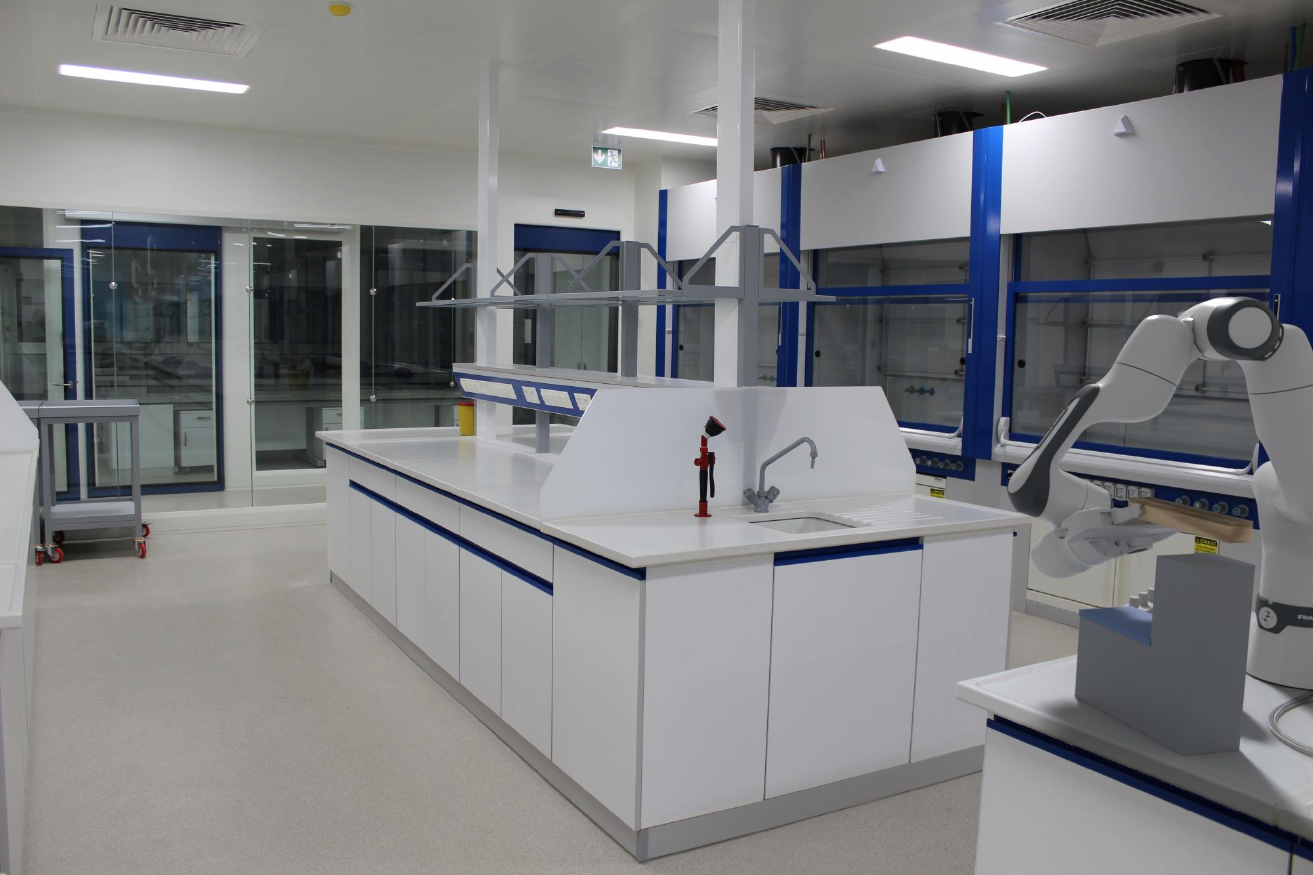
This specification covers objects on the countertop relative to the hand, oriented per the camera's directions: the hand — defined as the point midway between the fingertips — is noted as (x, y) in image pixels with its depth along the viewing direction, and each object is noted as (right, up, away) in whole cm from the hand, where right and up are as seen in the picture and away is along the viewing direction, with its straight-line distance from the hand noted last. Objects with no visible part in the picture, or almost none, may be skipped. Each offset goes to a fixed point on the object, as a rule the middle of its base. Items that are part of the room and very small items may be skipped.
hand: (1156, 507), depth 155 cm
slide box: (+2, -3, -6) cm, 7 cm away
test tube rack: (+15, -31, +33) cm, 48 cm away
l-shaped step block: (0, -34, +2) cm, 34 cm away
